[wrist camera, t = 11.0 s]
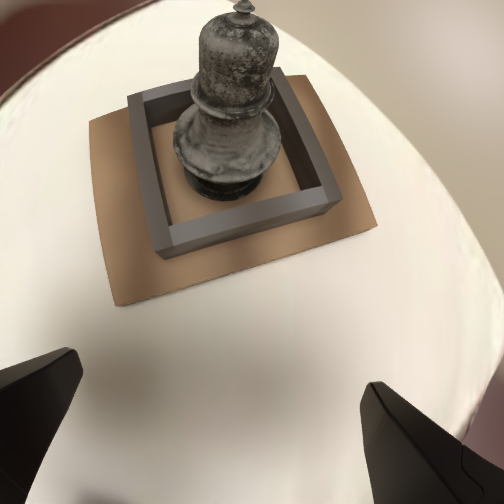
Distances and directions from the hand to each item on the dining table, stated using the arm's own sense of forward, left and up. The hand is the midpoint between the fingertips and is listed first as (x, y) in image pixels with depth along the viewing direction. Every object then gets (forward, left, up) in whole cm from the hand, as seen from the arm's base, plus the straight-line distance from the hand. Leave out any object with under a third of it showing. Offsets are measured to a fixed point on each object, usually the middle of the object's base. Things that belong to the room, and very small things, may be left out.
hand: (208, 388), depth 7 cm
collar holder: (+4, +11, -10) cm, 15 cm away
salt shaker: (+4, +10, -9) cm, 14 cm away
